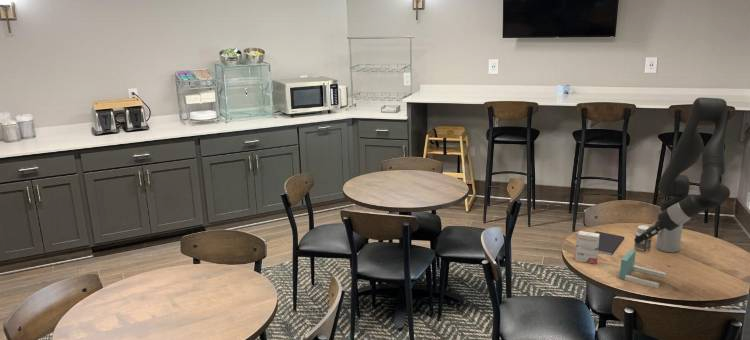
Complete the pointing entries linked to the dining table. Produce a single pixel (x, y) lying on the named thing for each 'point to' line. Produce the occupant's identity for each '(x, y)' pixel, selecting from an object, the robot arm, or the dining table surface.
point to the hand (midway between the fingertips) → (638, 238)
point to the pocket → (628, 266)
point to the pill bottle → (644, 245)
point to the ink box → (587, 247)
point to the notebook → (609, 242)
